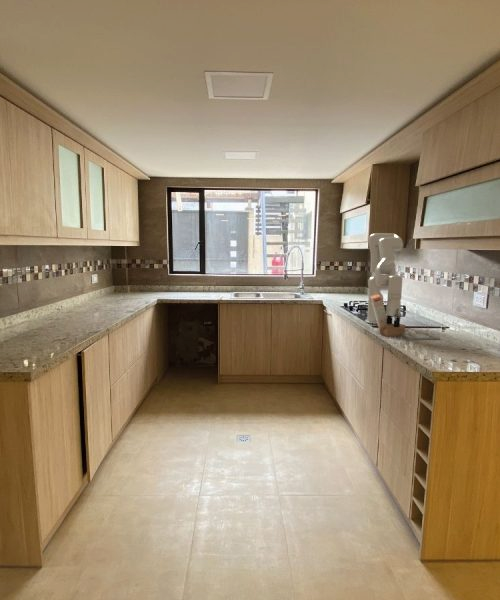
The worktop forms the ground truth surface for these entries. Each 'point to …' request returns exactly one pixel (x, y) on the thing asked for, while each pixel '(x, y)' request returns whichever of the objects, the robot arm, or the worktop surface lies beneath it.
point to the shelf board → (391, 330)
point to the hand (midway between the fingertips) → (392, 325)
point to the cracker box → (379, 309)
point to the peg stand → (420, 335)
